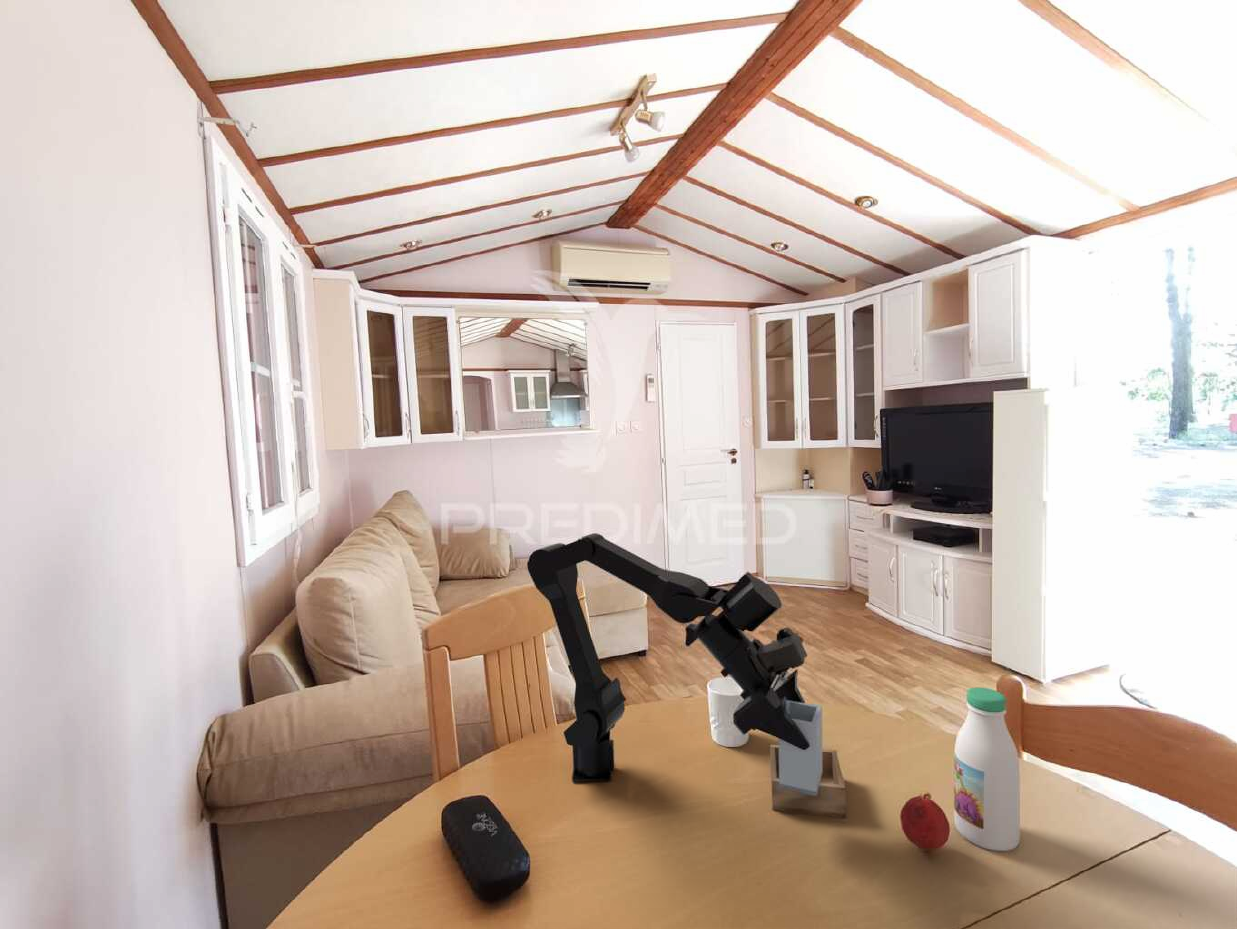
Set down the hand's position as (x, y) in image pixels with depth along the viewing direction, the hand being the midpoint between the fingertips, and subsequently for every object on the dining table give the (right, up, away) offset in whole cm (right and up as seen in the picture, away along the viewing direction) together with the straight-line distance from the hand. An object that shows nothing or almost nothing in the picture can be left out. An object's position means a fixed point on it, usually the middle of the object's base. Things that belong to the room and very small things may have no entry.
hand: (810, 737), depth 83 cm
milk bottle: (+24, -13, -1) cm, 27 cm away
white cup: (-7, -13, +26) cm, 30 cm away
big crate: (+2, -13, +9) cm, 16 cm away
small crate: (-1, -7, +1) cm, 7 cm away
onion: (+14, -13, -4) cm, 20 cm away
